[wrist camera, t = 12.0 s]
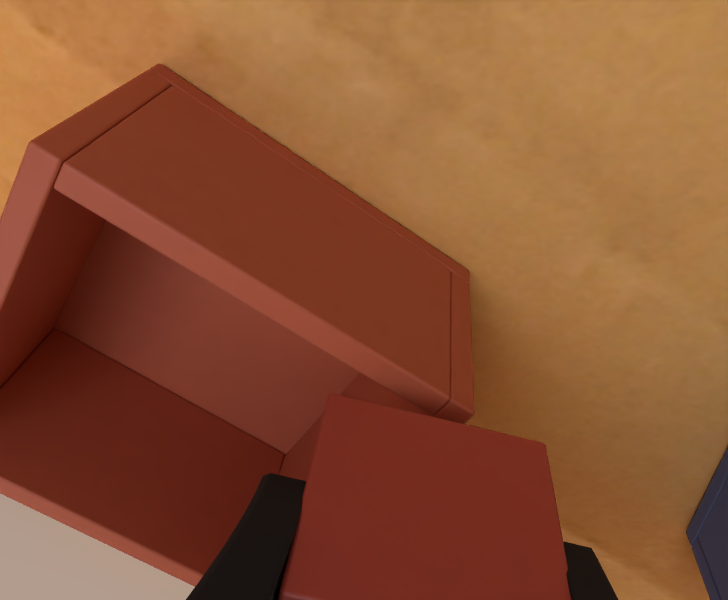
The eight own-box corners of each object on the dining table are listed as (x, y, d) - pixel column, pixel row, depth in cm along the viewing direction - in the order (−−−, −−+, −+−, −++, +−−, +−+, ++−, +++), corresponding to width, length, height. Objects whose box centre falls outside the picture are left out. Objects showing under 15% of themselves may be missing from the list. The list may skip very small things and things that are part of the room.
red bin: (469, 270, 17) (476, 414, 12) (295, 458, 22) (252, 615, 17) (159, 61, 15) (27, 140, 10) (40, 318, 20) (-88, 452, 15)
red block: (546, 441, 12) (587, 665, 8) (479, 576, 14) (490, 797, 10) (329, 390, 11) (278, 592, 8) (294, 532, 14) (244, 741, 10)
